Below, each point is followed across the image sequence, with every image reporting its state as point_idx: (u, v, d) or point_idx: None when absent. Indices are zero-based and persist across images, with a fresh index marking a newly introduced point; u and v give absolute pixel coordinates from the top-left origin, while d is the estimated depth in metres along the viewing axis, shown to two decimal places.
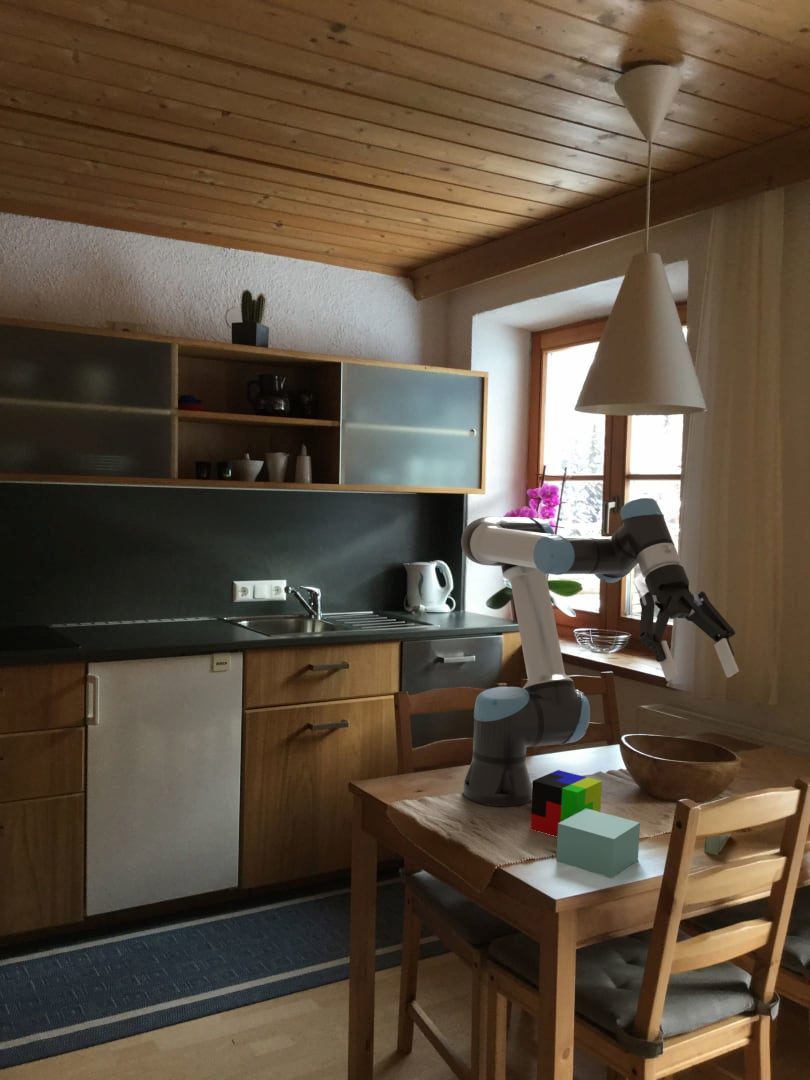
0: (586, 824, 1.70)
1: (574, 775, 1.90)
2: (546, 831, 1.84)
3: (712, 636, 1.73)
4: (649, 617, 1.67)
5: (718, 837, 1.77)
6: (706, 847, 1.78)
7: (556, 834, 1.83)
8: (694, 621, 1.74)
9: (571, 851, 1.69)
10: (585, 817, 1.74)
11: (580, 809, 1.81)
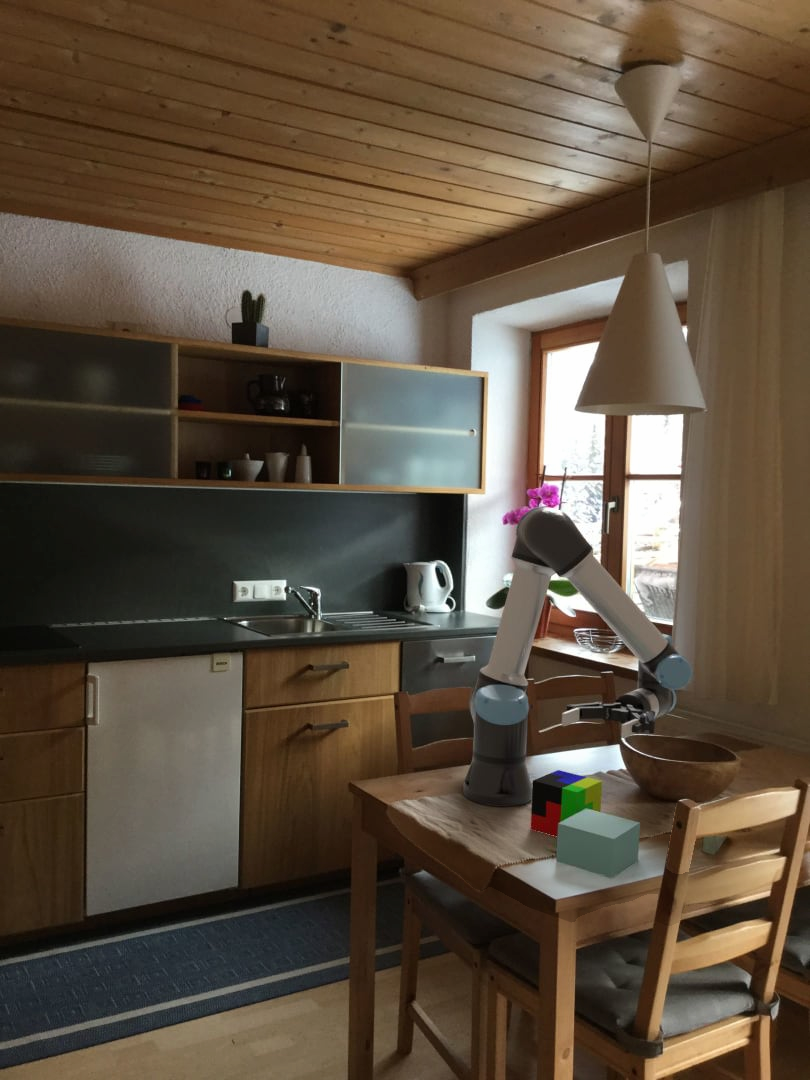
0: (586, 824, 1.70)
1: (574, 775, 1.90)
2: (546, 831, 1.84)
3: (583, 710, 2.04)
4: None
5: (715, 836, 1.77)
6: (703, 846, 1.78)
7: (556, 834, 1.83)
8: (601, 709, 2.05)
9: (571, 851, 1.69)
10: (585, 817, 1.74)
11: (580, 809, 1.81)
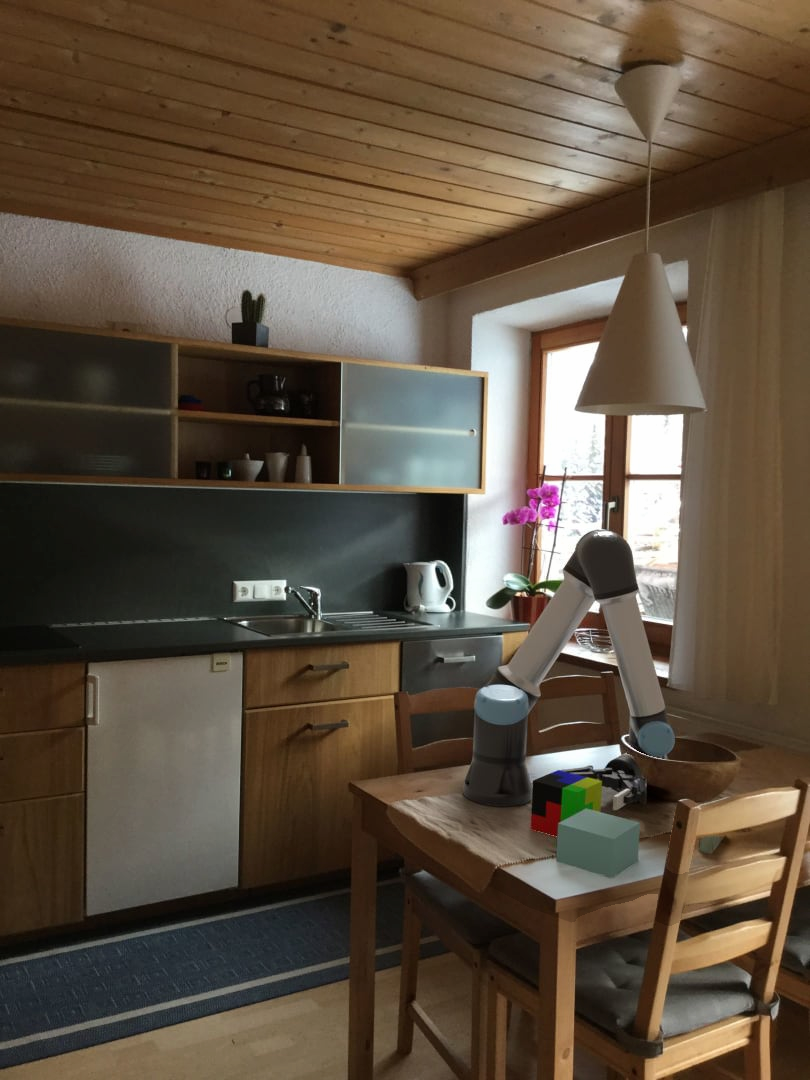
0: (586, 824, 1.70)
1: (574, 775, 1.90)
2: (546, 831, 1.84)
3: None
4: None
5: (712, 836, 1.77)
6: (700, 846, 1.78)
7: (556, 834, 1.83)
8: (592, 775, 2.02)
9: (571, 851, 1.69)
10: (585, 817, 1.74)
11: (580, 809, 1.81)
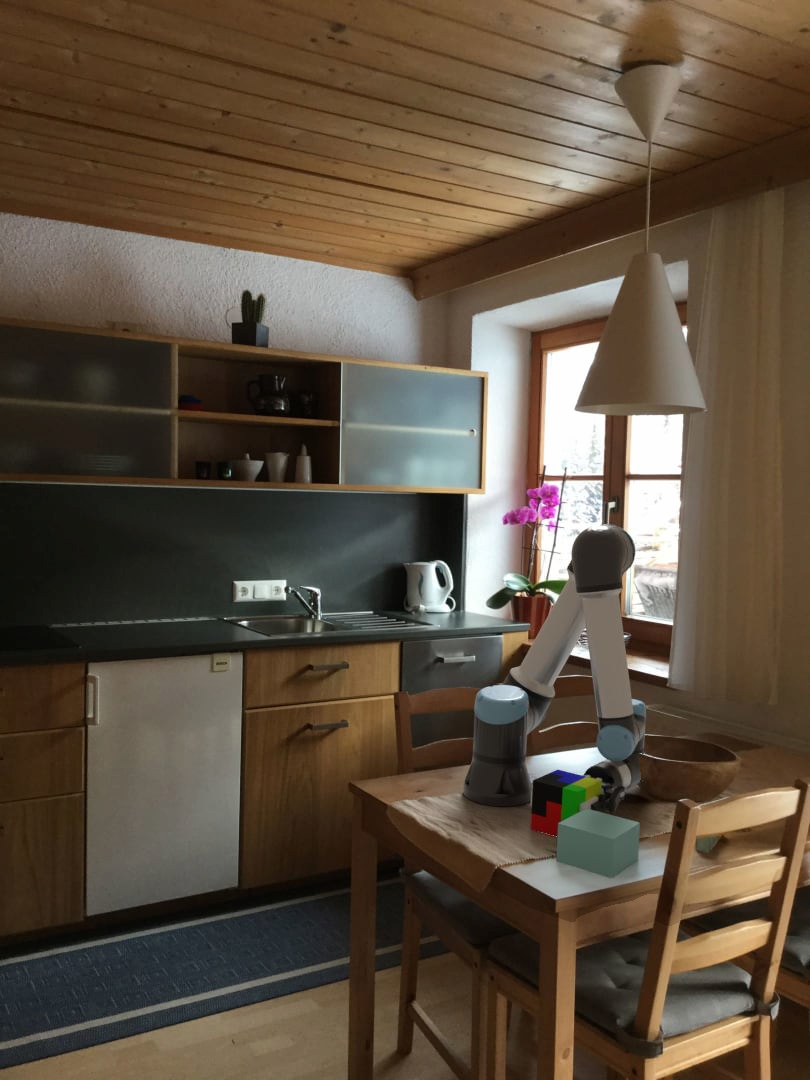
0: (586, 824, 1.70)
1: (574, 775, 1.90)
2: (546, 831, 1.84)
3: None
4: None
5: None
6: (697, 845, 1.79)
7: (556, 834, 1.83)
8: None
9: (571, 851, 1.69)
10: (585, 817, 1.74)
11: None
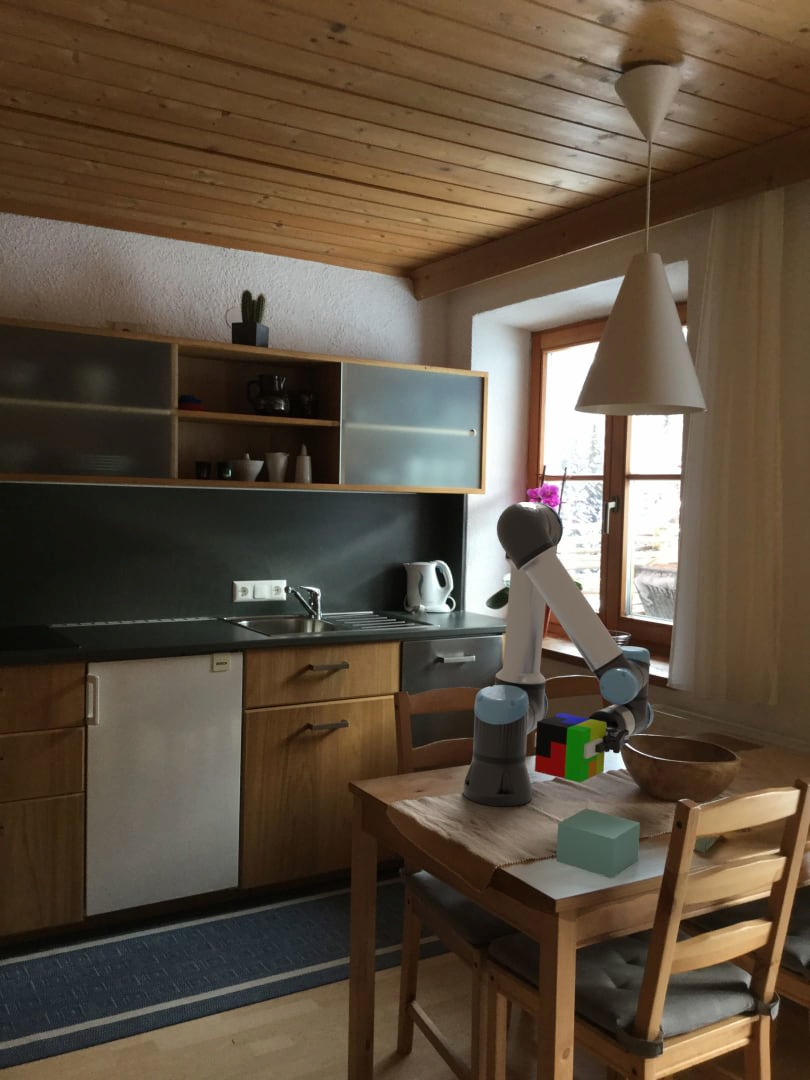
0: (586, 824, 1.70)
1: (578, 717, 1.89)
2: (551, 772, 1.83)
3: None
4: None
5: None
6: None
7: (561, 774, 1.82)
8: None
9: (571, 851, 1.69)
10: (585, 817, 1.74)
11: None
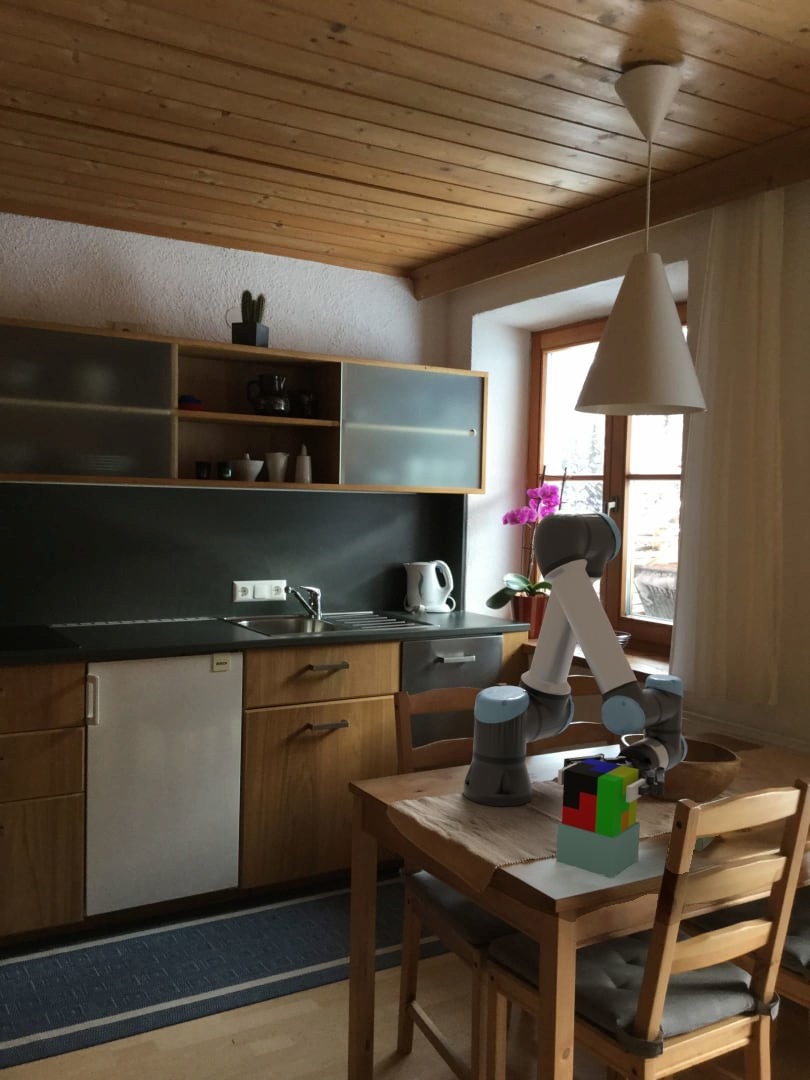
0: None
1: (607, 763, 1.75)
2: (579, 825, 1.68)
3: None
4: None
5: None
6: None
7: (591, 828, 1.67)
8: None
9: (571, 851, 1.69)
10: None
11: (618, 800, 1.66)
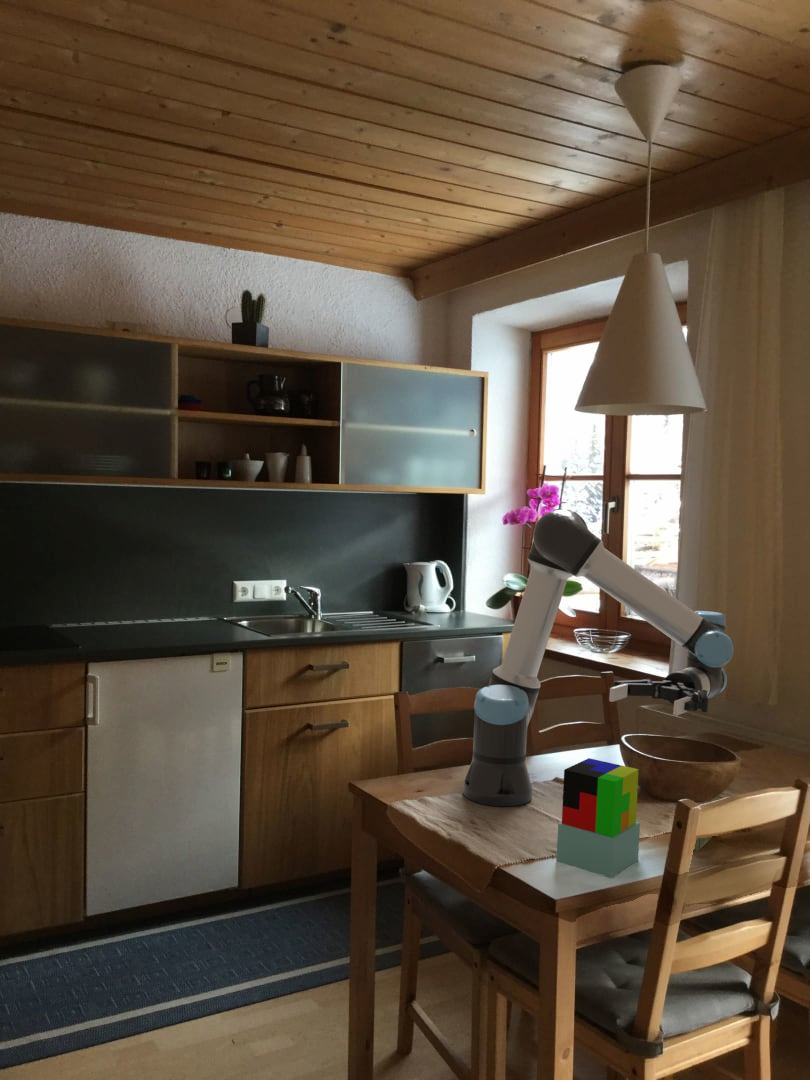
0: None
1: (607, 763, 1.75)
2: (579, 825, 1.68)
3: (631, 686, 1.95)
4: None
5: None
6: None
7: (591, 828, 1.67)
8: (650, 686, 1.96)
9: (571, 851, 1.69)
10: None
11: (618, 800, 1.66)
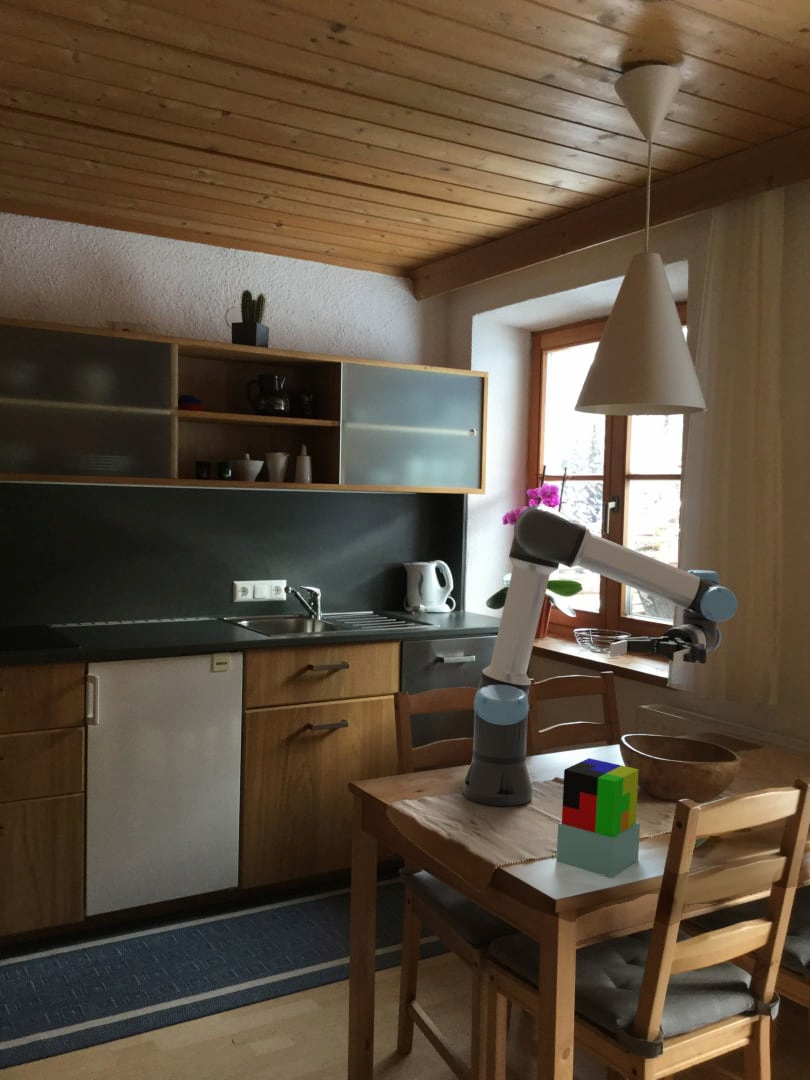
0: None
1: (607, 763, 1.75)
2: (579, 825, 1.68)
3: (630, 642, 2.00)
4: None
5: None
6: None
7: (591, 828, 1.67)
8: (648, 642, 2.01)
9: (571, 851, 1.69)
10: None
11: (618, 800, 1.66)
